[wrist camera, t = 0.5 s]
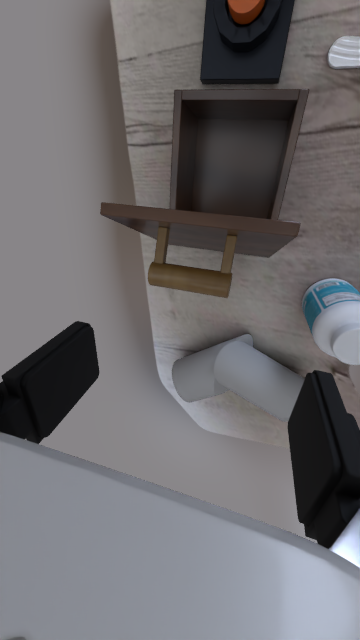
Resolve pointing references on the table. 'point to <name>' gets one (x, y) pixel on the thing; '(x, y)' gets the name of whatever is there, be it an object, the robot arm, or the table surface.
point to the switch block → (244, 44)
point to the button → (245, 10)
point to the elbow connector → (238, 376)
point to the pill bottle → (334, 318)
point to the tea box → (234, 149)
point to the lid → (201, 242)
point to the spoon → (345, 53)
